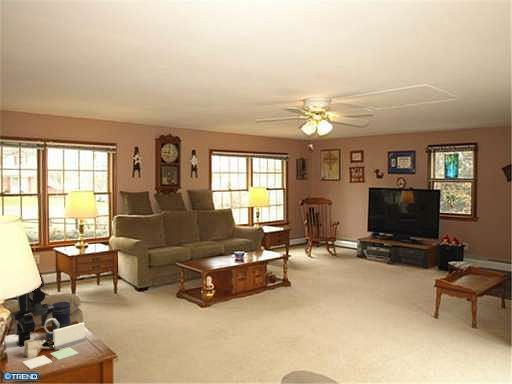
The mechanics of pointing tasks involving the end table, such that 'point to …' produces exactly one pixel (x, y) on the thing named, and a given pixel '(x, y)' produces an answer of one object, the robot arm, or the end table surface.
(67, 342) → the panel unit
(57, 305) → the storage jar
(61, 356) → the sage mat
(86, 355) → the end table surface
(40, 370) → the end table surface
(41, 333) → the end table surface
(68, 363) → the end table surface
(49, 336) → the watch
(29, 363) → the cream mat
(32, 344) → the block
